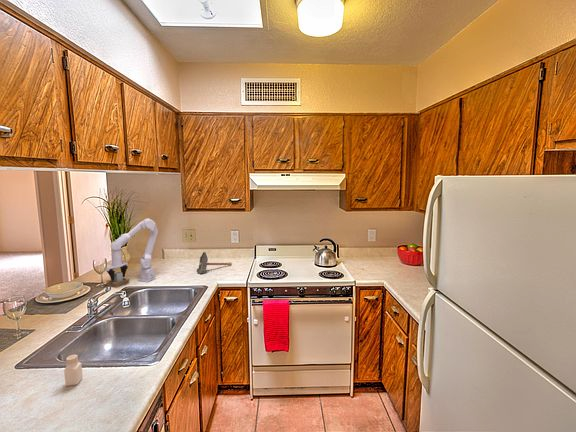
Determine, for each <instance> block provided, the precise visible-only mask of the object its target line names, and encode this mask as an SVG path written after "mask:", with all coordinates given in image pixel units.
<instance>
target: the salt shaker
mask: <svg viewBox="0 0 576 432" xmlns="http://www.w3.org/2000/svg"><path fill="white" fill-rule="evenodd" d="M78 356H79V355H78V354H71V355H68V356H67V357H66V358H65V360H66V361H65V362H66V366H65V368H64V370H63V372H64V381H65V382H64V383H65V386H66V387H68V386H77V385H78V384H80V382H81V381H82V379H83V368H82V367H83V366H82V362H80V361H79V357H78Z"/></svg>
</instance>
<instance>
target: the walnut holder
mask: <svg viewBox="0 0 576 432" xmlns="http://www.w3.org/2000/svg"><path fill="white" fill-rule="evenodd" d="M106 284H107V287H111V288H117V289H118V288H120V287H123V286H125V285H128V284H130V279H129V278H125V277H123V281H120V282H117V283H116V282H114V281H113V280H111V279H110V280H107V282H106Z"/></svg>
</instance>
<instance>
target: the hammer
mask: <svg viewBox="0 0 576 432" xmlns="http://www.w3.org/2000/svg"><path fill="white" fill-rule="evenodd" d="M208 259H209V258H208V255H207V253H206V251H203V252H202V255H201V256H200V258H199V264H198V268H196V273H199V274H207V273H208V271H209V270H208V268H207V267H208V266H232V262H208Z"/></svg>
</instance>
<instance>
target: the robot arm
mask: <svg viewBox="0 0 576 432" xmlns="http://www.w3.org/2000/svg"><path fill="white" fill-rule="evenodd" d="M145 229H147V230H148V231H149V236H148V239H147V242H146V246H145V250H144V253H143V255H142V256H141V258H140V259H139V264H140V265H141V266H140V267H139V270H140V271H139V272H140V278H139V279H137V281H138V282H139V281H140V282H145V283H149V282H151V281H154V280H157V277H156V270H155V269H154V268H153V267H152V255H153V250H154V247H155V244H156V240H157V238H158V235H159V230H158V227H157V223H156V222H155V221H154V220H152V219H151V218H149V217H147V218H144V219H143V220H142V221H140V222H139V223H138V224H136V225H135V226H134V227H133V228H132V229H131V230H130V231H129V232H127V233H122V234H120V236H119V237H118V238H117V239H114V241H112V242H111V243H110V248H111V250H110V252H111V253H110V254H111V265H110V266H108V267H106V268H105V271H106V272H107V274H108V275H109V277H110V280H114V273H116V269H119V268H120V272H121V273H122V274H123V278H125V277H126V272H127V270H128V268H129V263H128V262H123V261H122V260H123V259H122V251H121V248H122V246H123V247H124V245H126V244H127V243H128V242H129V241H131V239H132V237H133V236H134V235H135V234H136V233H138V232H139V231H141V230H145Z"/></svg>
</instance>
